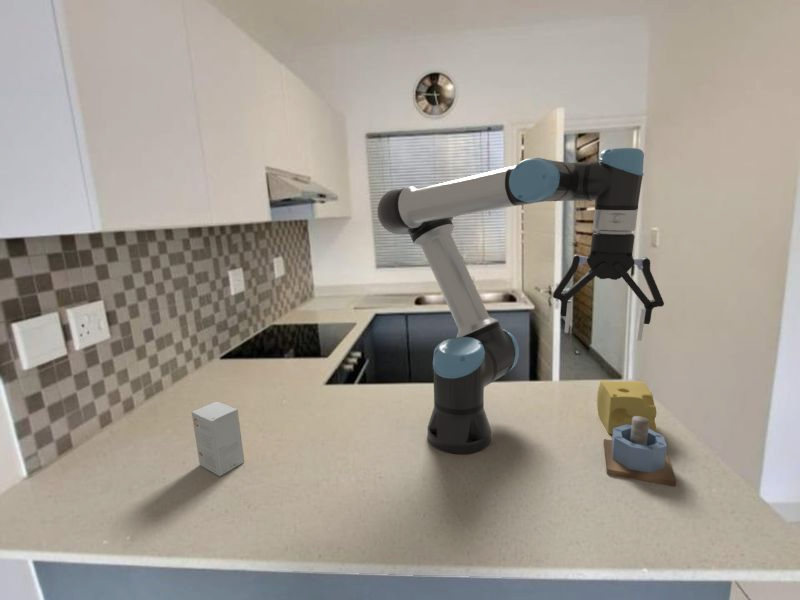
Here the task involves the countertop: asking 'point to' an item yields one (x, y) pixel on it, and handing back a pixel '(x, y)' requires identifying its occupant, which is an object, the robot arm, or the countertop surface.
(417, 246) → the robot arm
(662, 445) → the ring
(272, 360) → the countertop surface
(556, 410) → the countertop surface
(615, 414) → the cheese
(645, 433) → the post
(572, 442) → the countertop surface
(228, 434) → the small box
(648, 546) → the countertop surface
